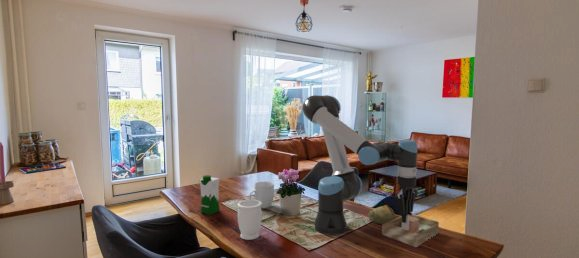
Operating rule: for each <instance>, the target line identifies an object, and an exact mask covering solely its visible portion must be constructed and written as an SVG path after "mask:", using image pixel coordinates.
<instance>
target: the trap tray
mask: <svg viewBox="0 0 579 258" xmlns="http://www.w3.org/2000/svg"><path fill="white" fill-rule="evenodd" d="M409 215H410V214H409ZM410 216H411V217H414V218H417V219H419V230H418V231H416V232H414V233H411V232H408V231H406V230H403V229H402V215H400V216H398V217H396V219H394V220H391V221H389V222H387V223H385V224H381V235H382V236H385V237H387V238H390V239H392V240H395V241H398V242H401V243H404V244H406V245H409V246H411V247H414V248H418V247H419V246H421V245H422V243H423V244H425V241H426V242H427V241H429V240H430V239H432V238H434V237H435V236H436V234H437V235H438V234H439V226H440V225H439V224H440V222H439V221H438V220H437V221H436V220H433V219H430V218H427V217H424V216H420V215H416V214H413V213H412V215H410ZM433 236H434V237H433ZM431 237H432V238H431ZM428 239H429V240H428Z"/></svg>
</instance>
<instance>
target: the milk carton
mask: <svg viewBox="0 0 579 258" xmlns="http://www.w3.org/2000/svg"><path fill="white" fill-rule="evenodd" d="M220 179H221V178H218V177H212V175H203V176H202V178H201V179H200V180H198V182H199V186H200V213H201V214H205V215H210V216H213V215H214V214H215V213H218V212H219V211H220V203H219V202H220V201H219V200H220V199H219V184H220Z"/></svg>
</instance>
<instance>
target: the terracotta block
mask: <svg viewBox="0 0 579 258" xmlns="http://www.w3.org/2000/svg"><path fill="white" fill-rule="evenodd" d="M403 230H405V229H403ZM418 230H419V219H417V218H414V217H411V216H409V230H406V231H408V232H411V233H414V232H416V231H418Z"/></svg>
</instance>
